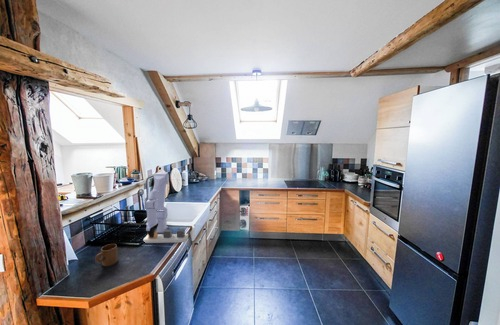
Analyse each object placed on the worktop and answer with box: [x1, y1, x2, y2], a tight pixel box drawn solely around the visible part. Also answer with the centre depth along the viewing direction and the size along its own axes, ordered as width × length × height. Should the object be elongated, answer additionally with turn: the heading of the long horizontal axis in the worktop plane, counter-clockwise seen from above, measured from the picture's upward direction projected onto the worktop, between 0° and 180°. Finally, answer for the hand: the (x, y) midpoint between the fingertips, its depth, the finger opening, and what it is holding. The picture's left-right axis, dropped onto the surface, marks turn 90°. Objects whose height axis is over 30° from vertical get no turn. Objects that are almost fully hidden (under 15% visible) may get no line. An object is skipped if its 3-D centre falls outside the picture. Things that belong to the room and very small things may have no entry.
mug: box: [94, 243, 119, 267], centre depth 113 cm, size 12×8×9 cm, turn 167°
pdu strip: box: [142, 228, 189, 244], centre depth 140 cm, size 7×28×7 cm, turn 94°
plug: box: [147, 228, 158, 239], centre depth 140 cm, size 4×4×7 cm
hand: (152, 235), depth 140 cm, fingers closed on plug, 3 cm apart
